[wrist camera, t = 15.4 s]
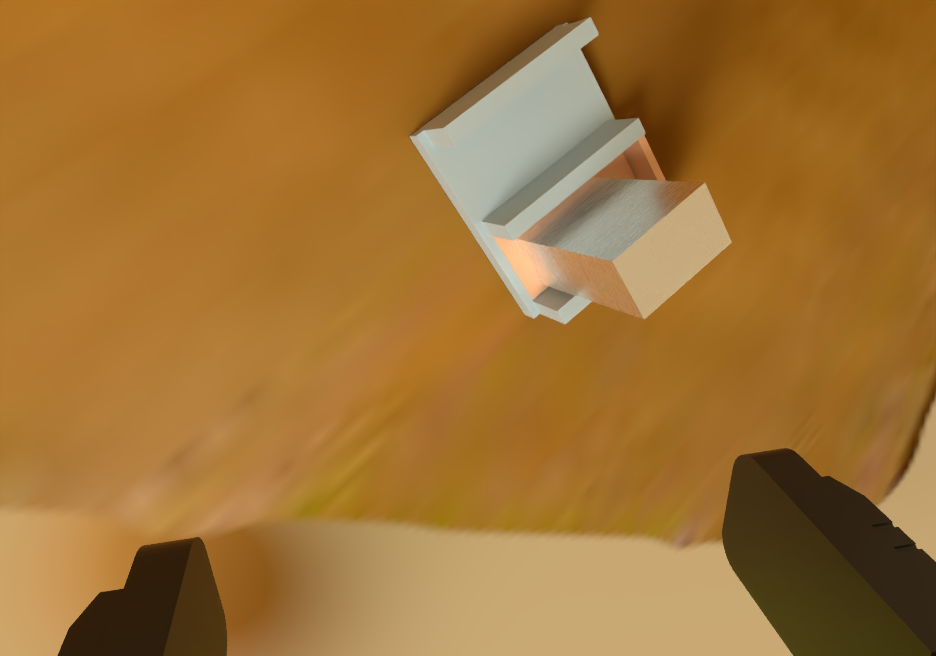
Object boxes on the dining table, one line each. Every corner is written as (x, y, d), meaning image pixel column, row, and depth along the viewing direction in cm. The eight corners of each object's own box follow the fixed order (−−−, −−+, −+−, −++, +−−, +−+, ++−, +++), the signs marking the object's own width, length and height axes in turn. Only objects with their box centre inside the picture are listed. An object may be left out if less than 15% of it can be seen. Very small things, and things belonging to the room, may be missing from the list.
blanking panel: (541, 284, 40) (644, 319, 32) (512, 237, 39) (612, 261, 30) (612, 224, 41) (731, 242, 33) (587, 177, 40) (704, 182, 31)
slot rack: (524, 314, 42) (558, 329, 38) (409, 136, 37) (435, 133, 33) (648, 209, 44) (693, 214, 40) (556, 25, 38) (597, 11, 35)
